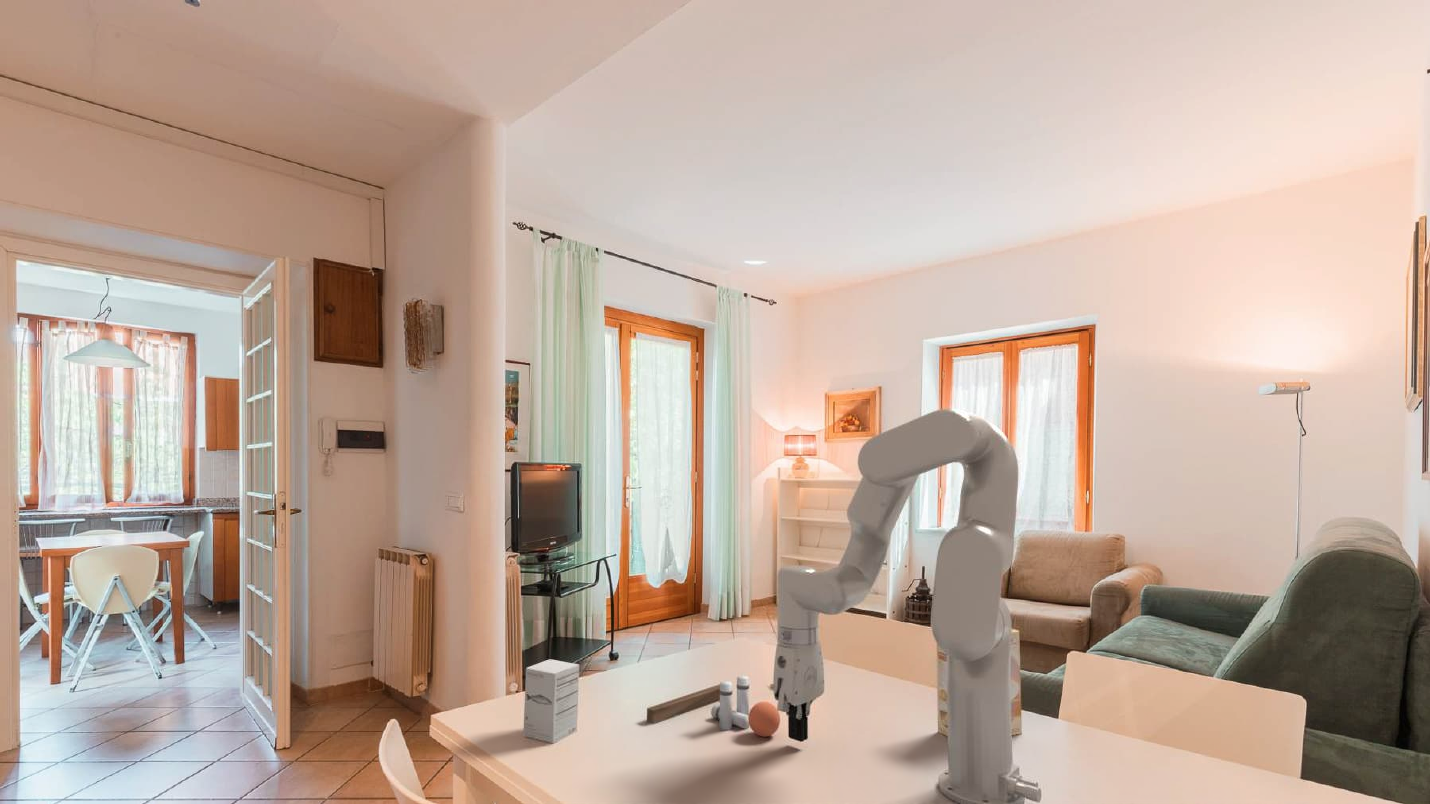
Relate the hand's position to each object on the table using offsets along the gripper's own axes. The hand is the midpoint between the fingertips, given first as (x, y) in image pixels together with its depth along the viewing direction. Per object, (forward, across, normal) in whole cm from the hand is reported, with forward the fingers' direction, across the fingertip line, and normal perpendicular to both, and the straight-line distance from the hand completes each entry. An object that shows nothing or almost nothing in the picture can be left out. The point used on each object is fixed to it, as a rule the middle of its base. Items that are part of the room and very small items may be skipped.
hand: (798, 738), depth 125 cm
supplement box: (+2, -28, +37) cm, 46 cm away
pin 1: (+2, -2, +16) cm, 16 cm away
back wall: (+2, 0, +28) cm, 28 cm away
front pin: (0, 0, +12) cm, 12 cm away
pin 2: (+2, +2, +16) cm, 16 cm away
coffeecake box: (+2, +30, -21) cm, 37 cm away
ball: (-2, 0, +8) cm, 8 cm away
